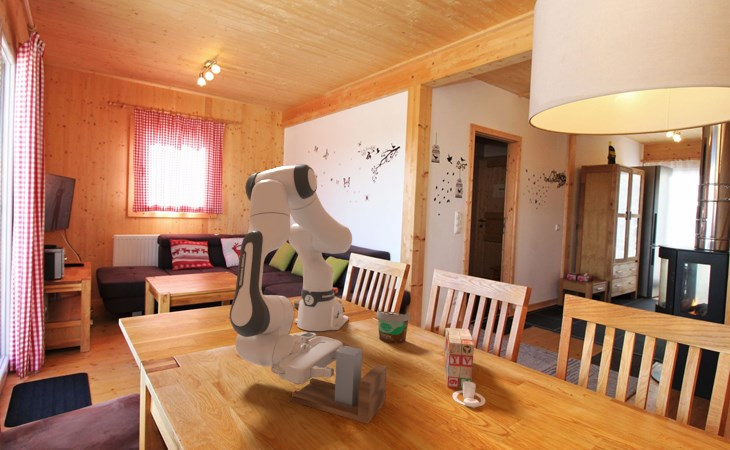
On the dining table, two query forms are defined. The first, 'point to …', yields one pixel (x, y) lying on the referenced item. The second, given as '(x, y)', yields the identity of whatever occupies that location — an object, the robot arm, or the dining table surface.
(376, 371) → the holder
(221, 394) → the dining table surface
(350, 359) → the block
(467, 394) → the teacup and saucer
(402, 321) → the food container
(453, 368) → the stack of blocks
